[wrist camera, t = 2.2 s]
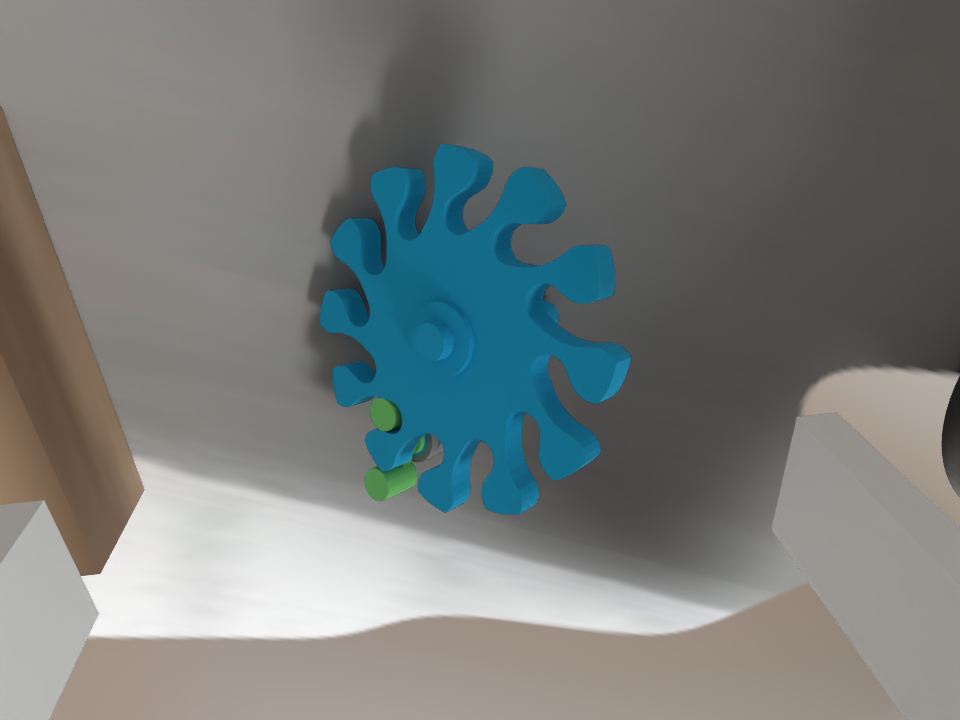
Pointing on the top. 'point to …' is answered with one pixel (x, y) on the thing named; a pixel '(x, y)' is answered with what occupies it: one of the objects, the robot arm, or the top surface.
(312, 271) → the top surface
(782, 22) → the top surface
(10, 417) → the brown rectangular block
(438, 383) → the gear
